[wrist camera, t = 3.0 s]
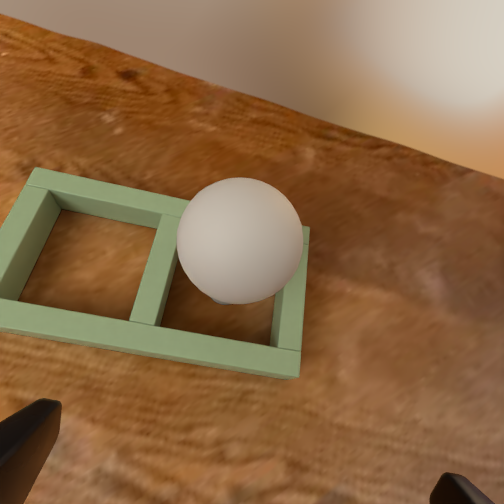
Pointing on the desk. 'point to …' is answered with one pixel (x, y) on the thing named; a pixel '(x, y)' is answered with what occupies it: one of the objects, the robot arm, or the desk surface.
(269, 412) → the desk surface
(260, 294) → the lightbulb
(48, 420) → the robot arm
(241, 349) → the frame
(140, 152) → the desk surface
